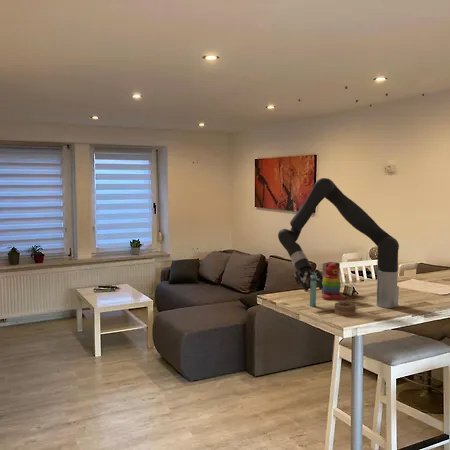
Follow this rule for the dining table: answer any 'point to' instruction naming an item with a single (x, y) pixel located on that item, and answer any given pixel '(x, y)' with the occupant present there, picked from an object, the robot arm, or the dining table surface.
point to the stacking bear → (331, 283)
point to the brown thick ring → (345, 309)
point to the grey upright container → (324, 269)
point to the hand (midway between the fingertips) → (314, 289)
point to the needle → (312, 290)
